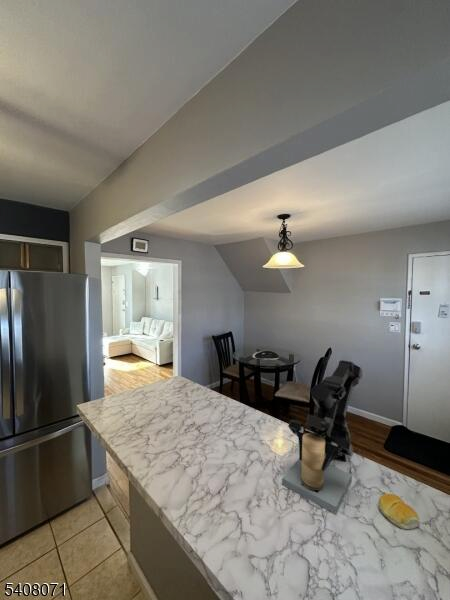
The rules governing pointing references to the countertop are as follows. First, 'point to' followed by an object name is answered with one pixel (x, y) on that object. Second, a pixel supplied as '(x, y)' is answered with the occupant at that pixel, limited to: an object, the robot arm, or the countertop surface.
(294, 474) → the slate board
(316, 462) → the oak leg
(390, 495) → the bread roll
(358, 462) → the countertop surface
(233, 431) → the countertop surface
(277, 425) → the countertop surface
